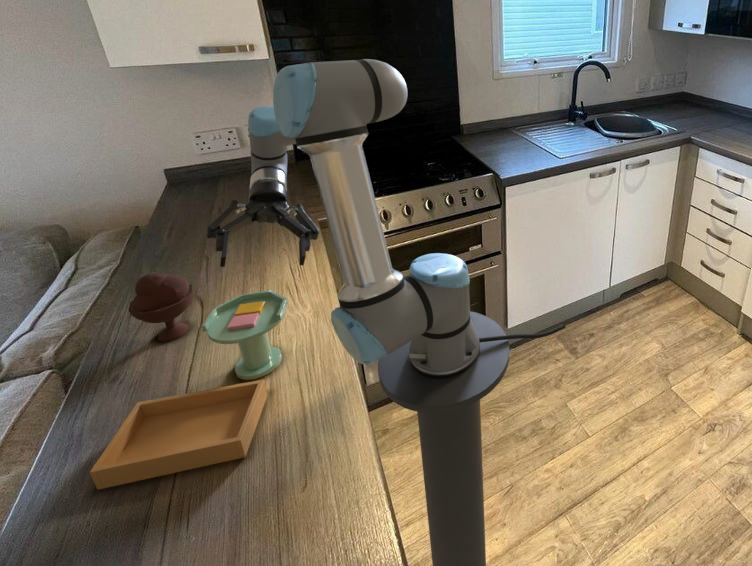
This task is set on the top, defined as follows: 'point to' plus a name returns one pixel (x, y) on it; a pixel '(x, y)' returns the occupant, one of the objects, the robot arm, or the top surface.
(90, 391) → the top surface
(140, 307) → the ice cream bowl
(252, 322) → the sachet
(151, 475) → the box
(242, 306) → the sachet
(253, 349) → the green pedestal stand
